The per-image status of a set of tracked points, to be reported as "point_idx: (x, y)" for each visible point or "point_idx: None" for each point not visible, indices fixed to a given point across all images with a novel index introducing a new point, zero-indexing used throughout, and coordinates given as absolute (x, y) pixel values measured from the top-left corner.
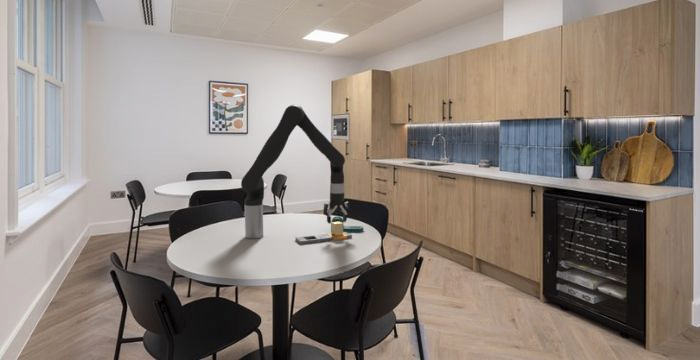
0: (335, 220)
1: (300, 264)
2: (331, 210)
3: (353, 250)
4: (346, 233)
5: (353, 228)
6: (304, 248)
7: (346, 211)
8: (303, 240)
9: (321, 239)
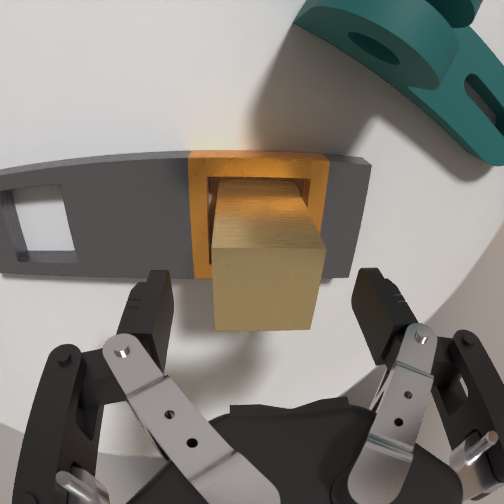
0: (378, 31)
1: None
2: (163, 456)
3: (223, 411)
4: (344, 223)
5: (466, 133)
6: (25, 322)
7: (442, 370)
8: (4, 264)
9: (104, 273)
